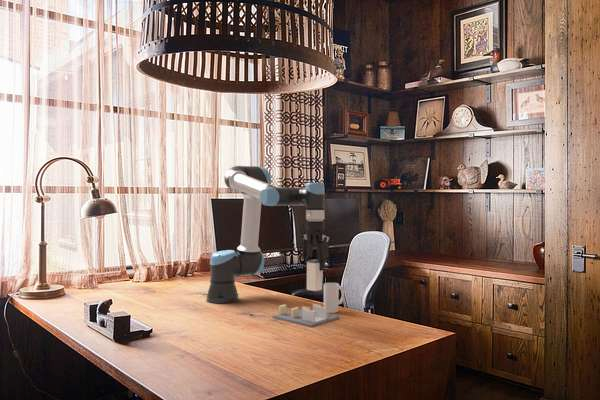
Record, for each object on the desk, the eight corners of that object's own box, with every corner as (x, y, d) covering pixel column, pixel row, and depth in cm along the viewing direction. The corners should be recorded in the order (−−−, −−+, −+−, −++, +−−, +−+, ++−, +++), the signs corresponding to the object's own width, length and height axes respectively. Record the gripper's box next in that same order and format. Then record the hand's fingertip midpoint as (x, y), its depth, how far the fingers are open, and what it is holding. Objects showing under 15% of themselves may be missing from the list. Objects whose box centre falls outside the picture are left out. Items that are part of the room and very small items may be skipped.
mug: (327, 313, 212) (328, 285, 212) (320, 310, 218) (320, 283, 218) (347, 311, 216) (348, 284, 216) (340, 308, 222) (340, 281, 222)
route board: (272, 317, 204) (272, 304, 204) (301, 310, 218) (301, 298, 218) (311, 327, 191) (311, 313, 190) (339, 318, 204) (339, 305, 204)
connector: (306, 289, 200) (306, 260, 200) (313, 288, 203) (313, 259, 203) (315, 291, 197) (315, 261, 197) (322, 289, 200) (322, 260, 201)
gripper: (292, 220, 203) (292, 276, 203) (326, 221, 192) (326, 281, 192) (304, 219, 209) (304, 274, 209) (338, 220, 197) (337, 279, 198)
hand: (314, 277), depth 200 cm, fingers closed on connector, 4 cm apart
